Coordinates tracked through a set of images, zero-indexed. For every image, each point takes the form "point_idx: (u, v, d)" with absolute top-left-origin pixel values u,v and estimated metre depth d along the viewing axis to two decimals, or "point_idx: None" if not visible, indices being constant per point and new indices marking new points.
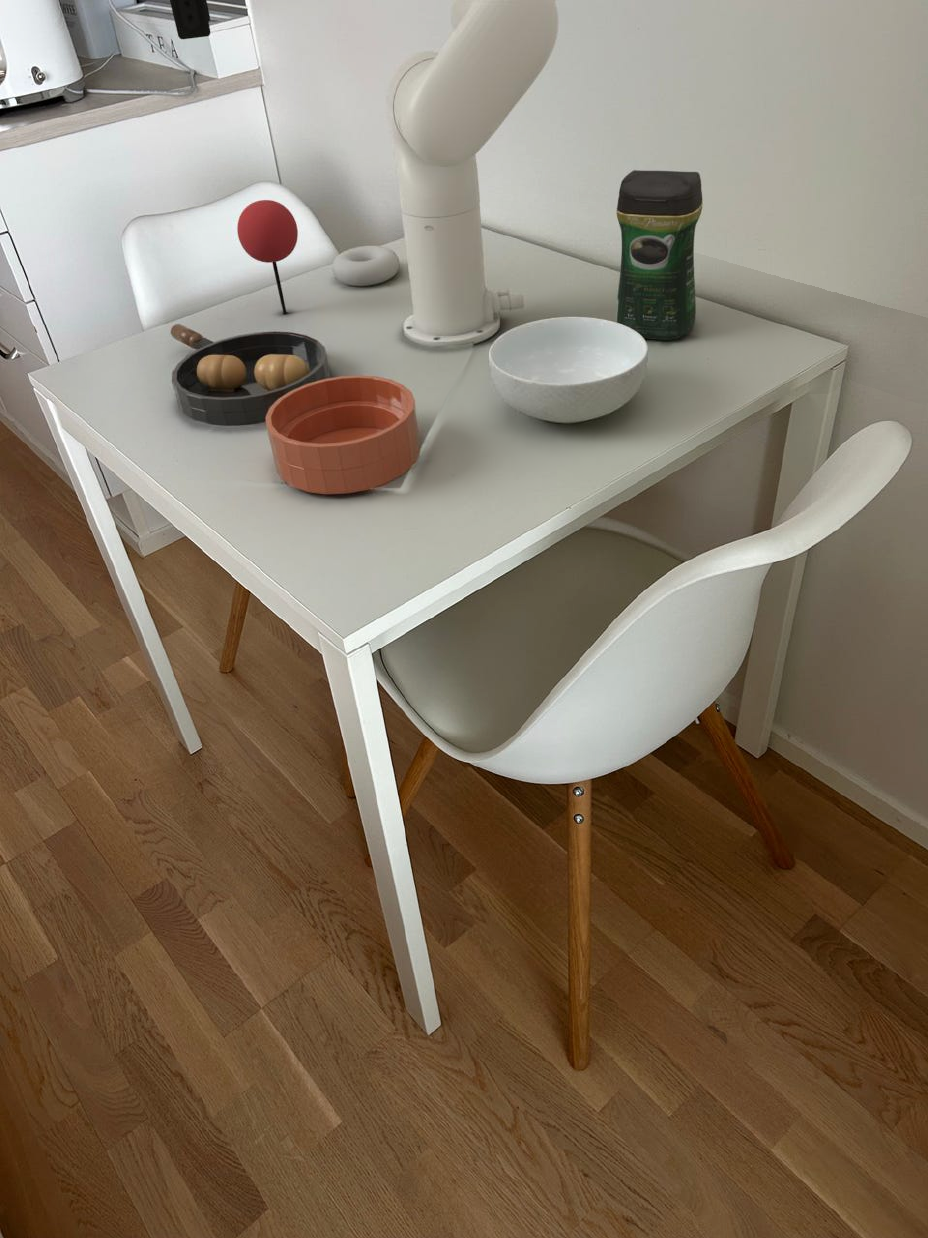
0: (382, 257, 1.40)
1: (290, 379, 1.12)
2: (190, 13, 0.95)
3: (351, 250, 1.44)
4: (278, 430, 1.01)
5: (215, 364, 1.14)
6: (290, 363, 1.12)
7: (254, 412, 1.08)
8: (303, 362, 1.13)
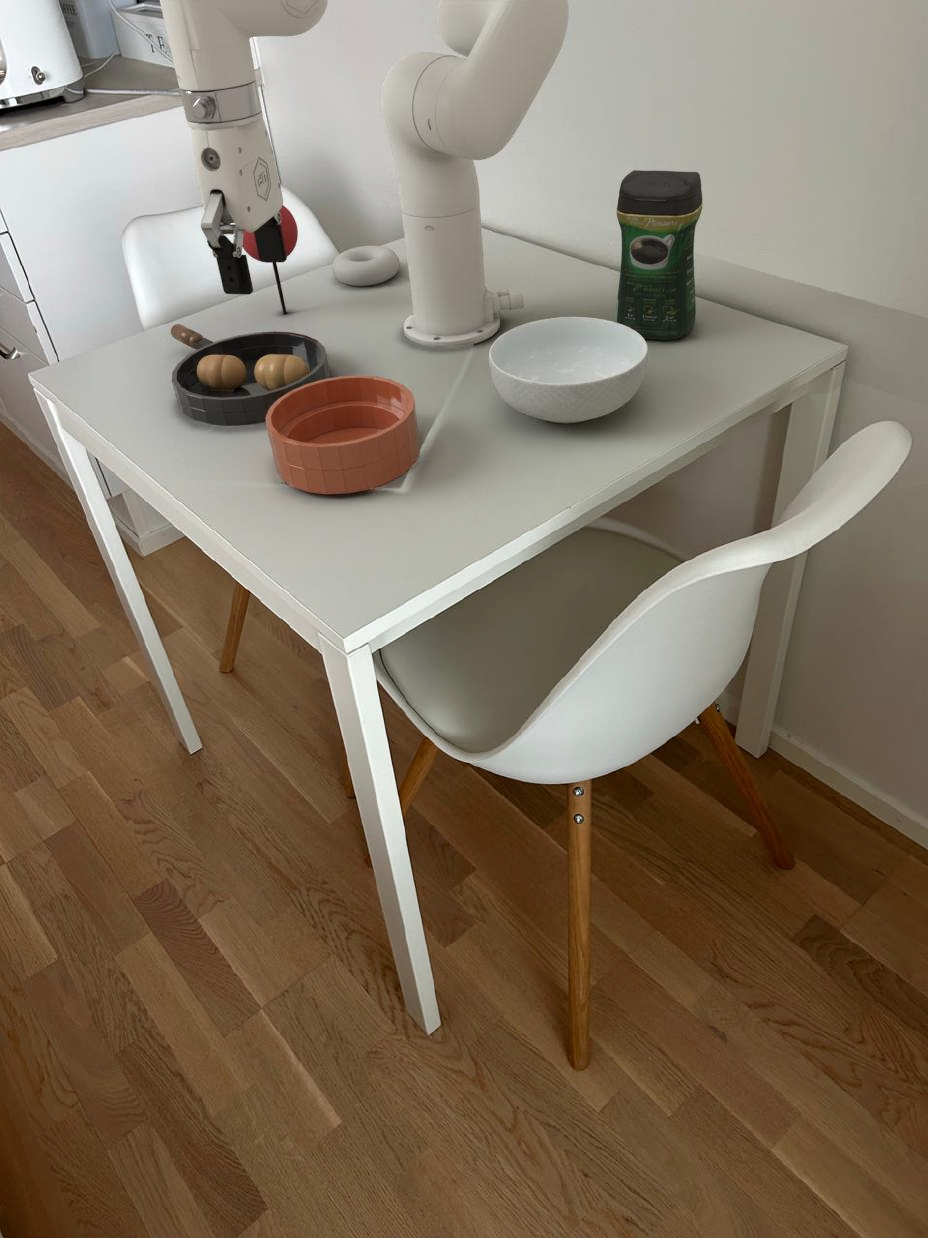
0: (382, 257, 1.40)
1: (290, 379, 1.12)
2: (231, 276, 1.01)
3: (351, 250, 1.44)
4: (278, 430, 1.01)
5: (215, 364, 1.14)
6: (290, 363, 1.12)
7: (254, 412, 1.08)
8: (303, 362, 1.13)
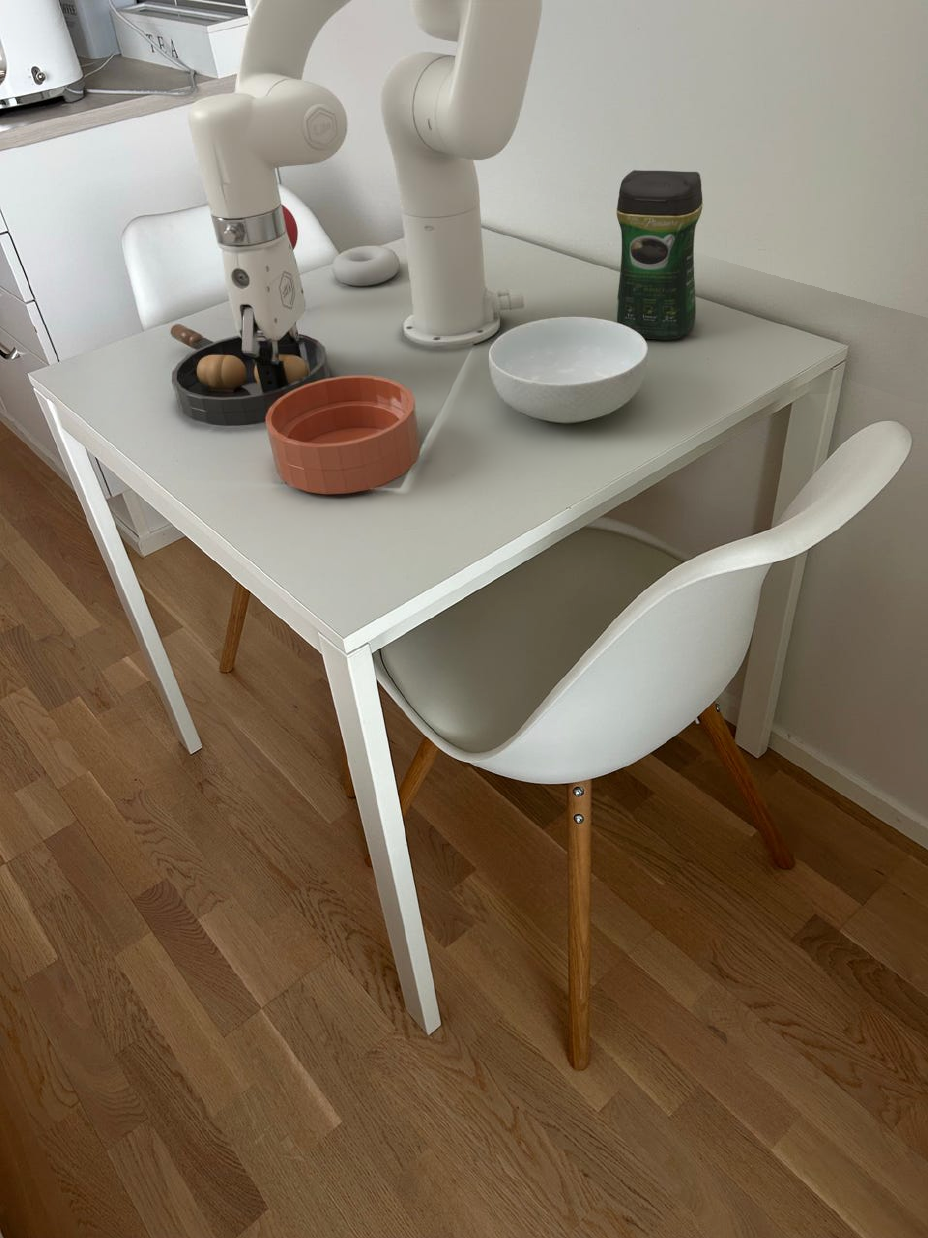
0: (382, 257, 1.40)
1: (290, 379, 1.12)
2: (270, 380, 1.11)
3: (351, 250, 1.44)
4: (278, 430, 1.01)
5: (215, 364, 1.14)
6: (290, 363, 1.12)
7: (254, 412, 1.08)
8: (303, 362, 1.13)
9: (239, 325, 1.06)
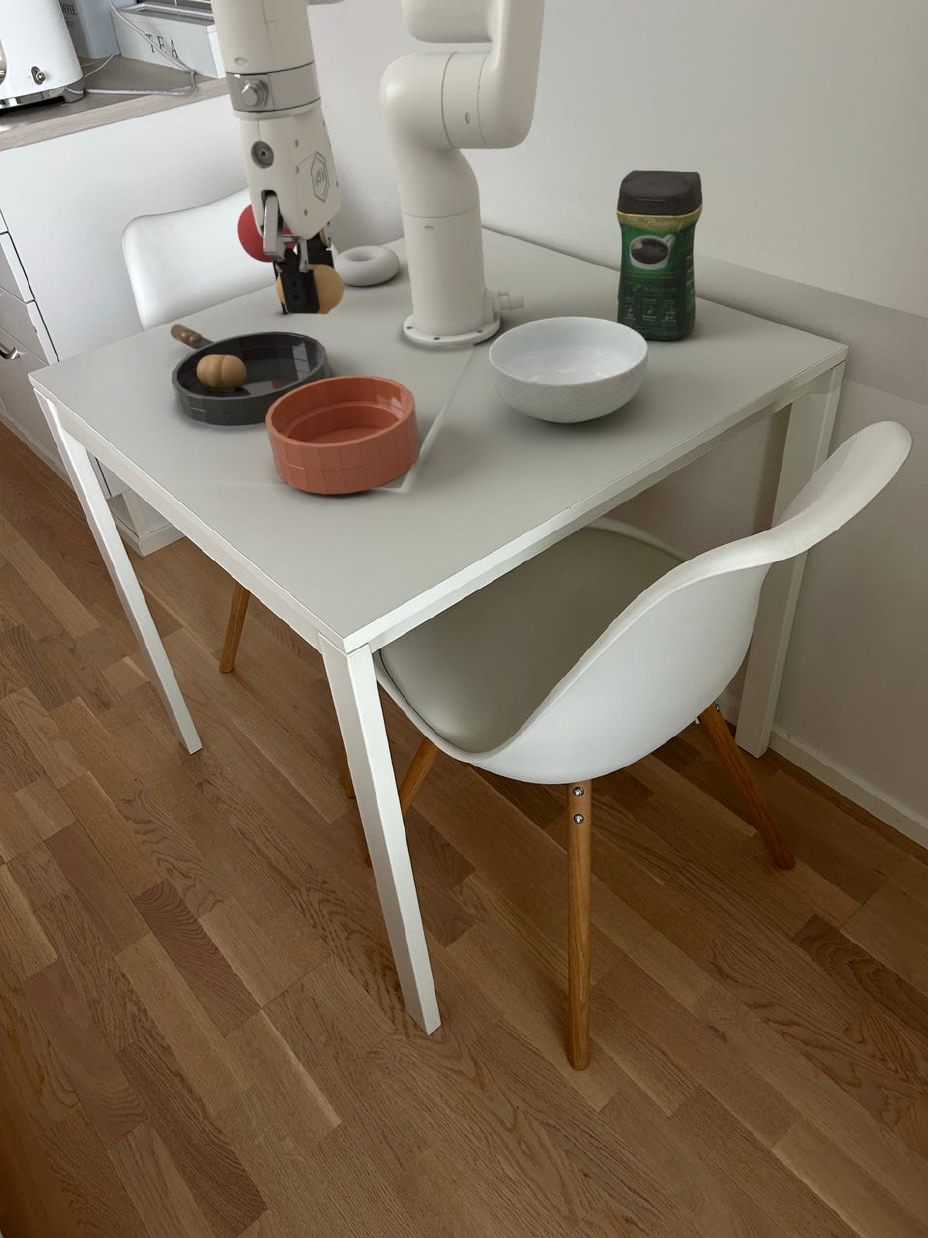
0: (382, 257, 1.40)
1: (321, 293, 0.90)
2: (297, 293, 0.89)
3: (351, 250, 1.44)
4: (278, 430, 1.01)
5: (215, 364, 1.14)
6: (321, 273, 0.90)
7: (254, 412, 1.08)
8: (337, 273, 0.91)
9: (260, 218, 0.84)
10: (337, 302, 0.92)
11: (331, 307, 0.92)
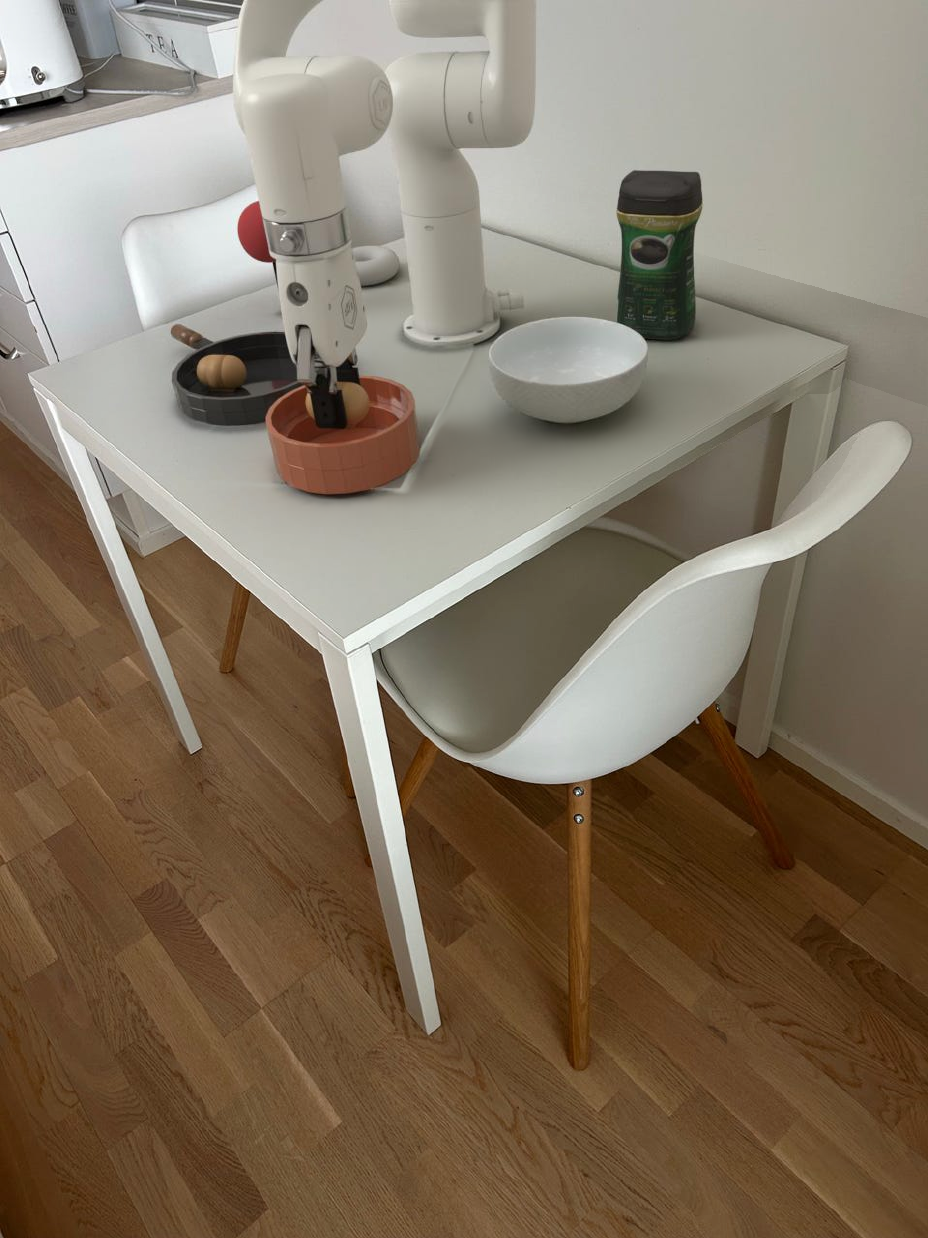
0: (382, 257, 1.40)
1: (348, 411, 0.96)
2: (326, 412, 0.95)
3: None
4: (278, 430, 1.01)
5: (215, 364, 1.14)
6: (349, 392, 0.96)
7: (254, 412, 1.08)
8: (363, 391, 0.97)
9: (293, 349, 0.89)
10: (363, 417, 0.97)
11: (357, 421, 0.98)
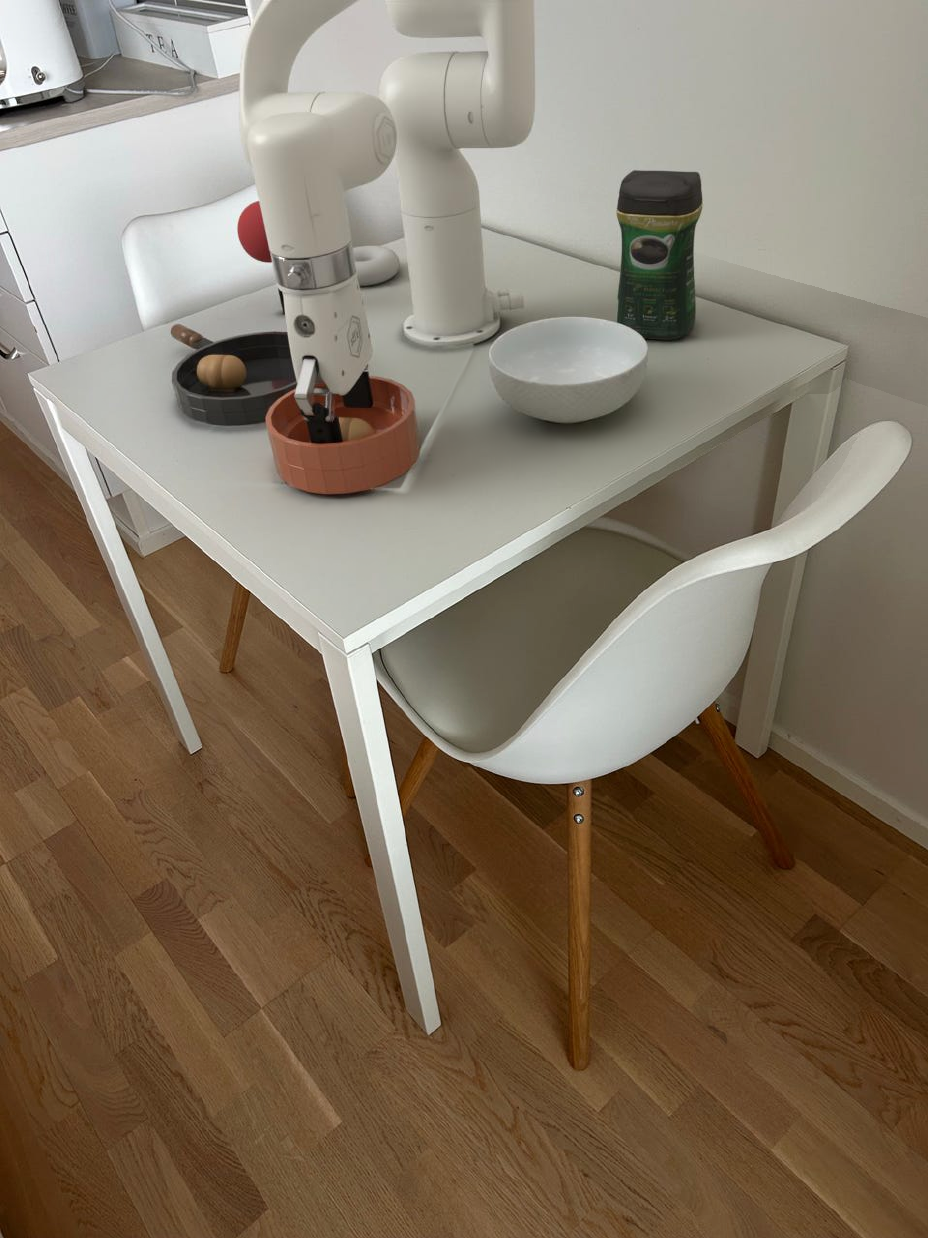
0: (382, 257, 1.40)
1: None
2: (323, 439, 0.94)
3: None
4: (278, 430, 1.01)
5: (215, 364, 1.14)
6: (355, 428, 0.98)
7: (254, 412, 1.08)
8: (369, 426, 0.99)
9: None
10: None
11: None
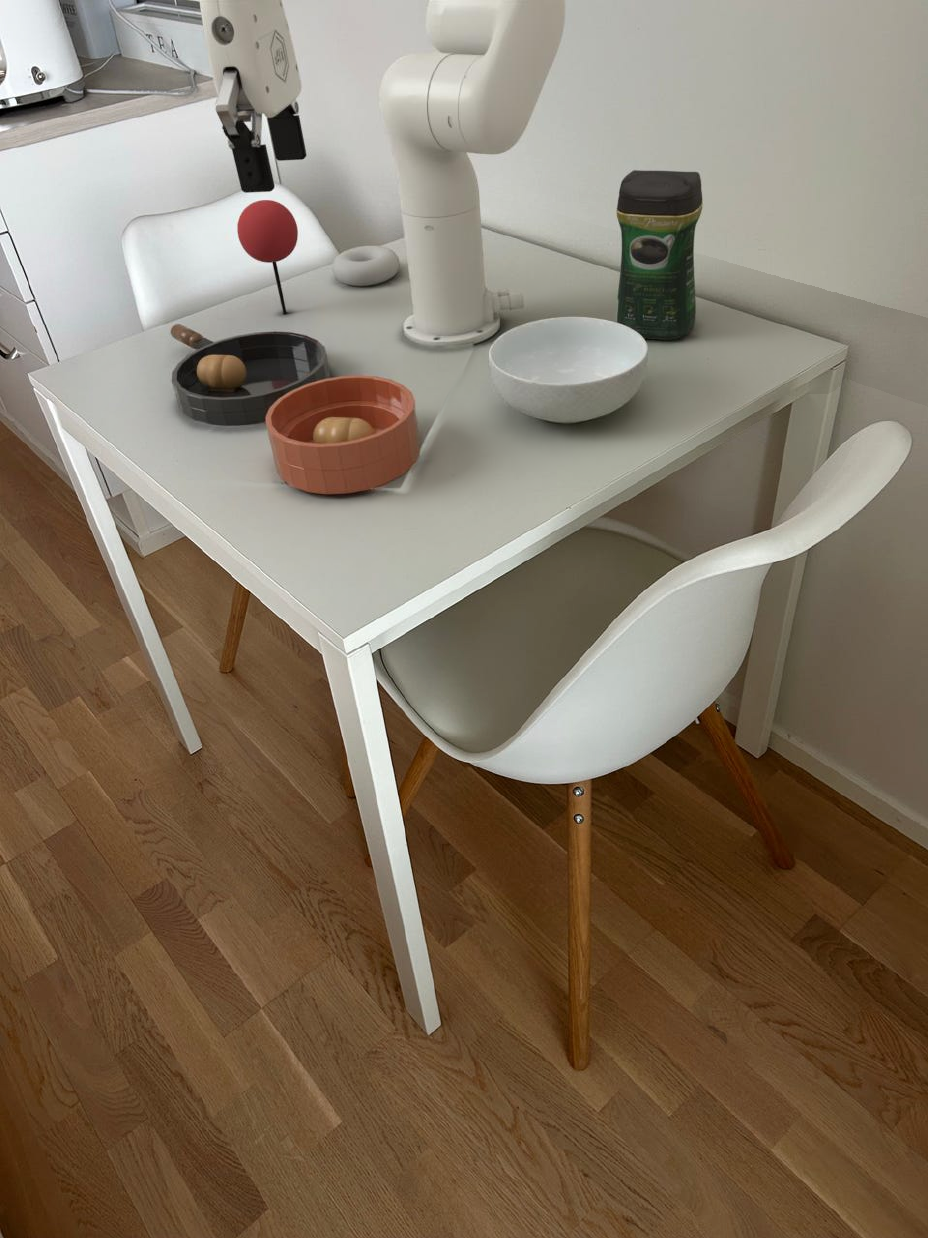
0: (382, 257, 1.40)
1: None
2: (250, 170, 0.90)
3: (351, 250, 1.44)
4: (278, 430, 1.01)
5: (215, 364, 1.14)
6: (355, 428, 0.98)
7: (254, 412, 1.08)
8: (369, 426, 0.99)
9: None
10: None
11: None
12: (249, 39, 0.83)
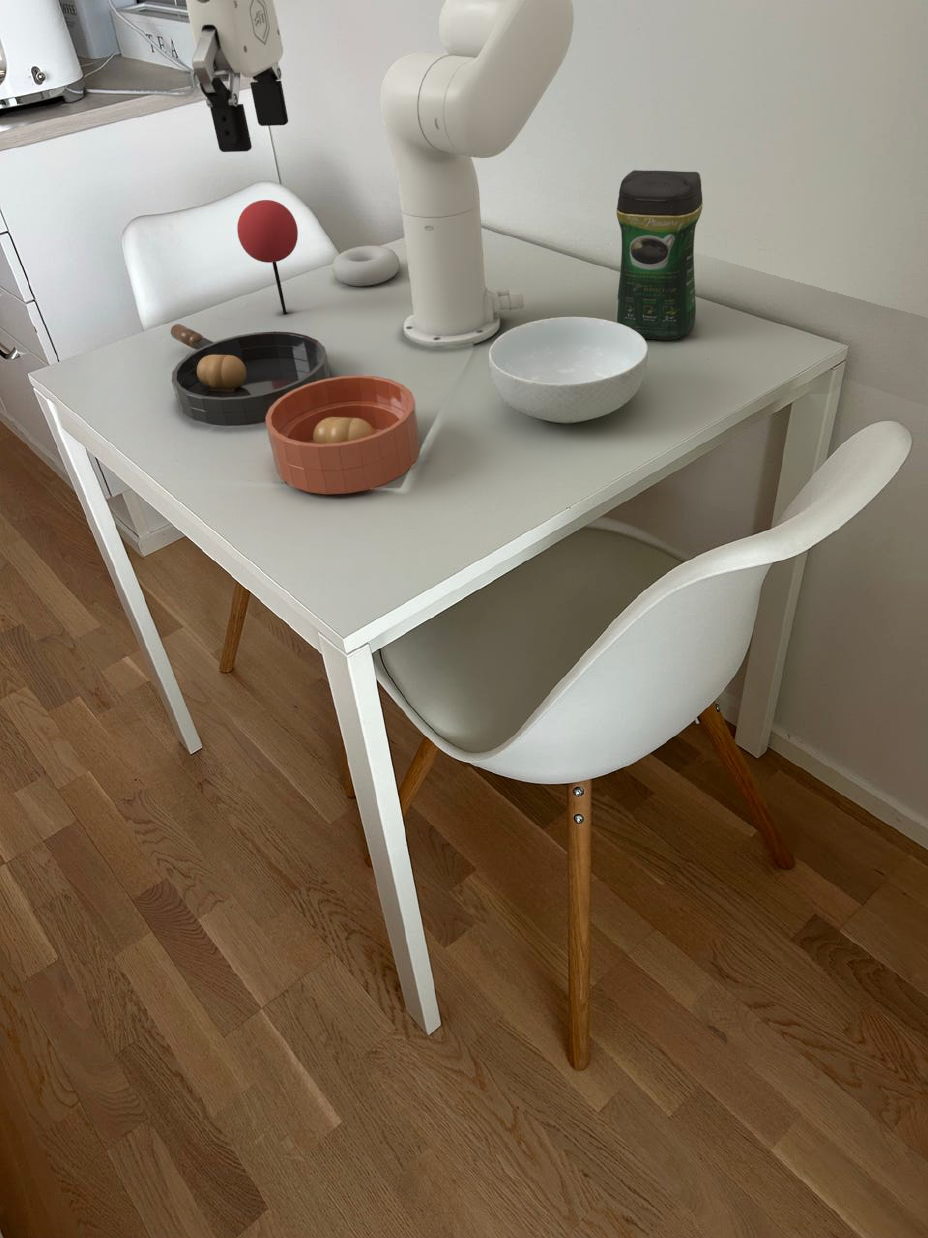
0: (382, 257, 1.40)
1: None
2: (227, 129, 0.91)
3: (351, 250, 1.44)
4: (278, 430, 1.01)
5: (215, 364, 1.14)
6: (355, 428, 0.98)
7: (254, 412, 1.08)
8: (369, 426, 0.99)
9: None
10: None
11: None
12: None
